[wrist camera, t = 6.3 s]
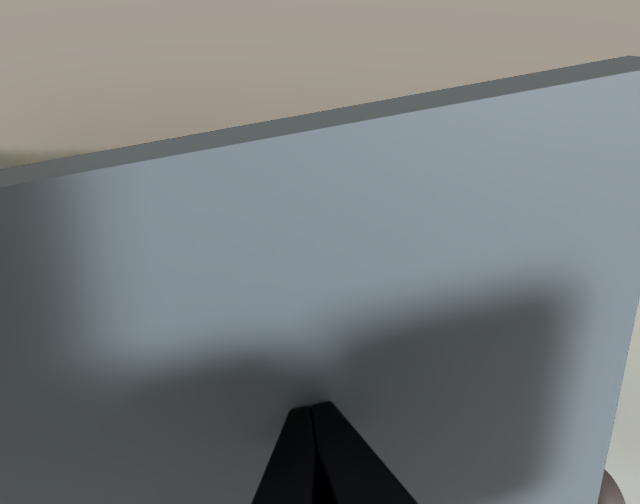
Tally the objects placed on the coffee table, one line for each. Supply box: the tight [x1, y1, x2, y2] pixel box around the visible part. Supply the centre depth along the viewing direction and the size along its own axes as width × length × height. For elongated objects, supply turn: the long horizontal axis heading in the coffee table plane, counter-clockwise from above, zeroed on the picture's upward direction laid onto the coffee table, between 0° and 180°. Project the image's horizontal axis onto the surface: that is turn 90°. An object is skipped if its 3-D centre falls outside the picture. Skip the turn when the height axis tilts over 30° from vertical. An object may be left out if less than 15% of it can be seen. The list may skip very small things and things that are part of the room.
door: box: [0, 56, 640, 504], centre depth 10 cm, size 2×13×12 cm
